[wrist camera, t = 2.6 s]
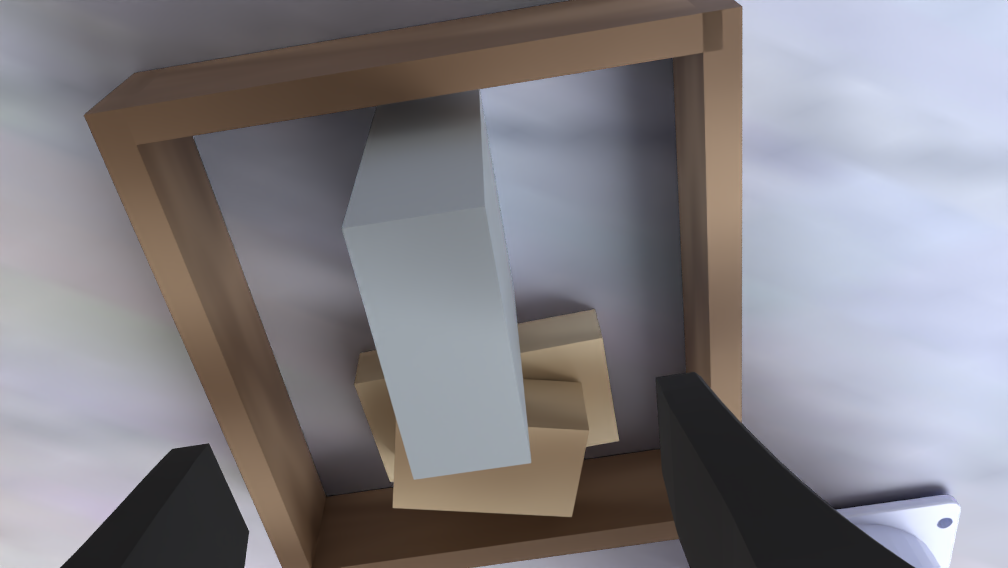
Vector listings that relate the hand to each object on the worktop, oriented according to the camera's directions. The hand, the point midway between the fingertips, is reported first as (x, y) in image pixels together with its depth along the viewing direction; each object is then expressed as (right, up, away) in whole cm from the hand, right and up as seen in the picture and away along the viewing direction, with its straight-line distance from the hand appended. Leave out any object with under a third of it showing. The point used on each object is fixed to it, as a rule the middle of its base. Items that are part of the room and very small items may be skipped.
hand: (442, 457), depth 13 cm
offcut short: (0, -1, +10) cm, 10 cm away
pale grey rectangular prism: (0, +5, +8) cm, 10 cm away
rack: (0, +2, +10) cm, 10 cm away
